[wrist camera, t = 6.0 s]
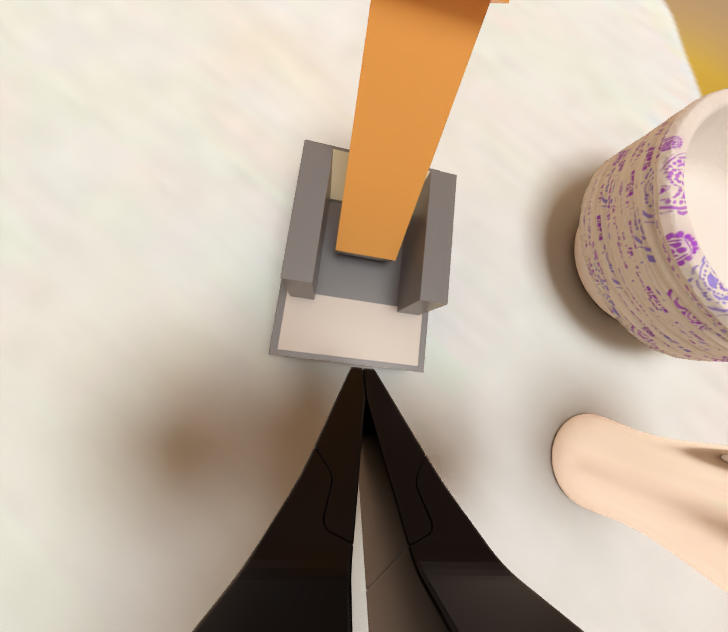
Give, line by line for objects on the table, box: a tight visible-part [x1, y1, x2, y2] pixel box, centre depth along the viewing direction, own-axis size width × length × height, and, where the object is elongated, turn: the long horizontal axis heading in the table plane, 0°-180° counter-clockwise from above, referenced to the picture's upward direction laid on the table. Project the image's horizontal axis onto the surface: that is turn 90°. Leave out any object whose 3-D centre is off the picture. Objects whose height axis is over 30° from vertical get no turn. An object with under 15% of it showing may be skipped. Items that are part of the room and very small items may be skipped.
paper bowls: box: [574, 88, 728, 362], centre depth 17 cm, size 15×15×8 cm
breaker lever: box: [336, 0, 509, 262], centre depth 10 cm, size 3×4×11 cm
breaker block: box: [269, 140, 457, 372], centre depth 14 cm, size 12×8×6 cm, turn 172°
